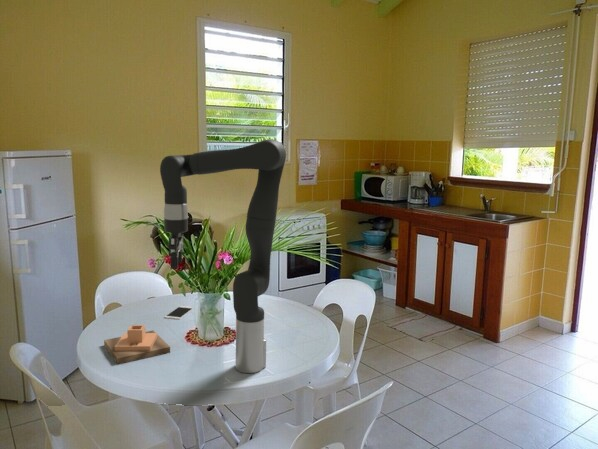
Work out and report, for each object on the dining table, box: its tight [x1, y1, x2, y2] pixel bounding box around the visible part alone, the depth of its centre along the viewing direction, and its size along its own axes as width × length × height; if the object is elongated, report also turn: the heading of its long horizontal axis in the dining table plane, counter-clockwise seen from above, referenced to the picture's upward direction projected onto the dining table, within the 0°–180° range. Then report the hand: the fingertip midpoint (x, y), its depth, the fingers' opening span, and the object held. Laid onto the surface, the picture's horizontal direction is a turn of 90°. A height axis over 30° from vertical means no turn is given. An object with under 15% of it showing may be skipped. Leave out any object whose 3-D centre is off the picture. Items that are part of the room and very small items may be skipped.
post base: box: [103, 330, 171, 365], centre depth 169 cm, size 18×18×6 cm
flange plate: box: [115, 324, 158, 351], centre depth 169 cm, size 12×12×6 cm
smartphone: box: [164, 305, 195, 321], centre depth 208 cm, size 7×15×1 cm, turn 169°
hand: (176, 265), depth 157 cm, fingers open, 8 cm apart
